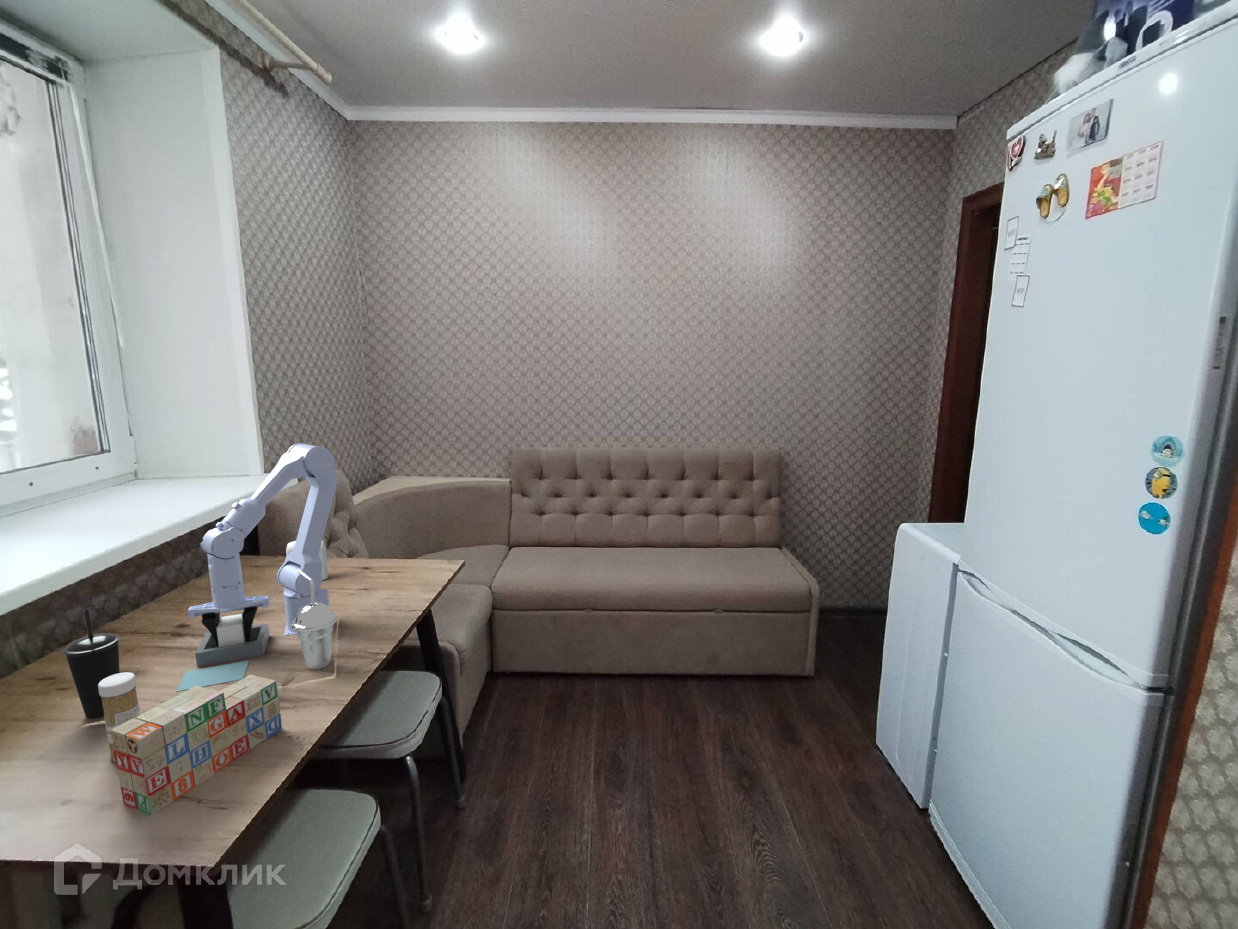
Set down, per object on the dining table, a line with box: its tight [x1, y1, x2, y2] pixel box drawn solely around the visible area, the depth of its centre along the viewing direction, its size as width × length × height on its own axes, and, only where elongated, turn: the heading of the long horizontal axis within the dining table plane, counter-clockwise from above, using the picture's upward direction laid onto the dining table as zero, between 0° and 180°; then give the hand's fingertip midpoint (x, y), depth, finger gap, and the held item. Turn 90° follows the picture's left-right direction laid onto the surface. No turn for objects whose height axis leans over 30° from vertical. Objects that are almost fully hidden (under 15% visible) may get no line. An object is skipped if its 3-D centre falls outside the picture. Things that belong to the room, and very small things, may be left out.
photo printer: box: [285, 539, 329, 581], centre depth 171 cm, size 10×4×12 cm, turn 110°
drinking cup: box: [62, 608, 121, 719], centre depth 106 cm, size 8×8×20 cm
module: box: [217, 613, 247, 647], centre depth 129 cm, size 4×6×7 cm
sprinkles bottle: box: [98, 671, 141, 763], centre depth 95 cm, size 5×5×14 cm
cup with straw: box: [292, 570, 338, 670], centre depth 123 cm, size 8×9×20 cm
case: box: [195, 623, 270, 668], centre depth 129 cm, size 12×10×4 cm
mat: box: [175, 660, 250, 693], centre depth 119 cm, size 11×8×1 cm
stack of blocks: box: [111, 674, 283, 816], centre depth 93 cm, size 21×6×12 cm, turn 160°
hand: (234, 642), depth 129 cm, fingers open, 5 cm apart
